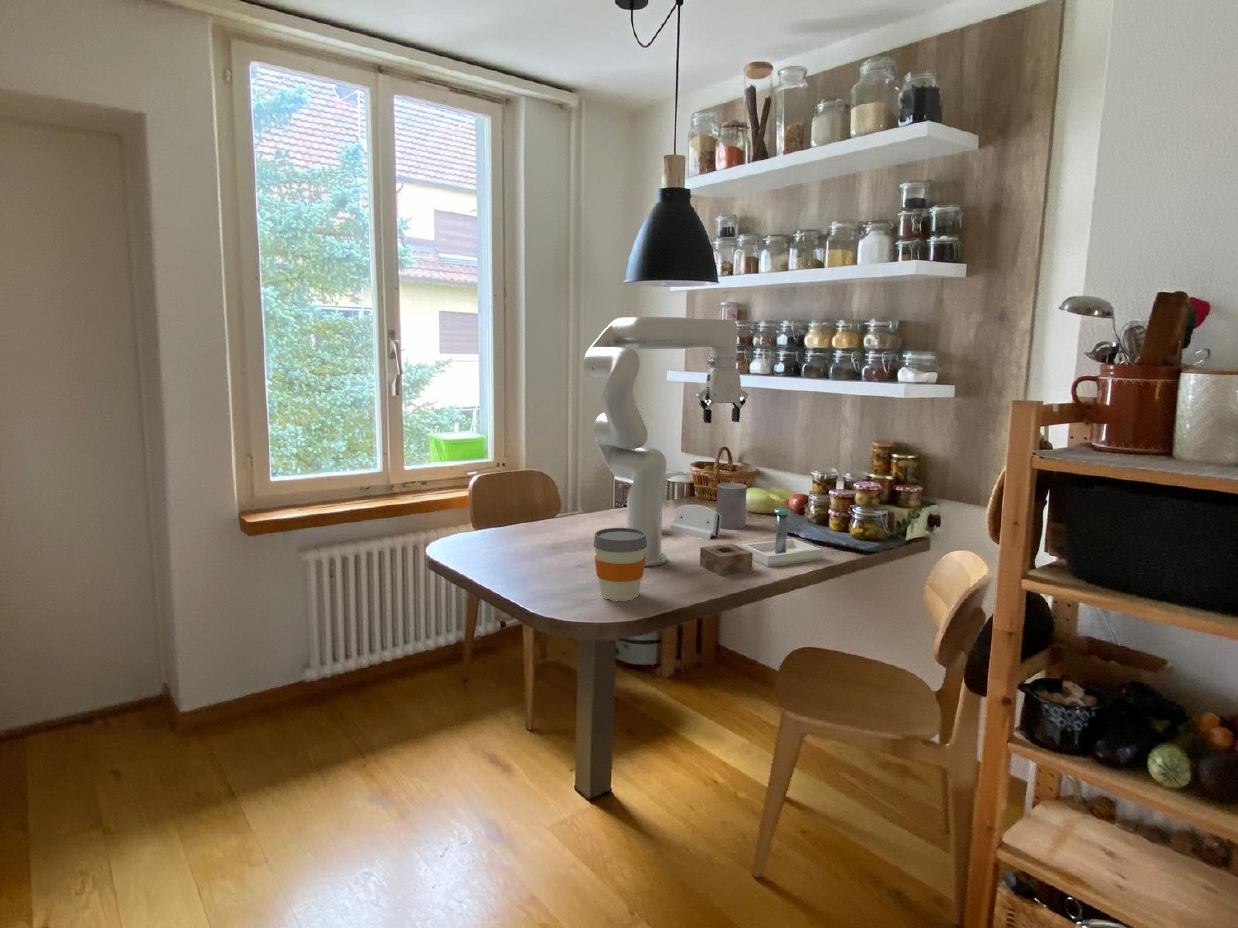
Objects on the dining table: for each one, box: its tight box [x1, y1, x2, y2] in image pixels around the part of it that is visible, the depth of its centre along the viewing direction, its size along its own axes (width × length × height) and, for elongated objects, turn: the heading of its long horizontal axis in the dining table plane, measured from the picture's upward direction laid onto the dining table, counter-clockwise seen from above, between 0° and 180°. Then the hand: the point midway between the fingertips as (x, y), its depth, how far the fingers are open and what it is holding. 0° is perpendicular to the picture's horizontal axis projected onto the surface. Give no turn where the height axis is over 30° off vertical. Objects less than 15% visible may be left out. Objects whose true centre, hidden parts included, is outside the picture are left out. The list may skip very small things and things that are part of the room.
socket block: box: [699, 543, 753, 576], centre depth 199 cm, size 10×10×5 cm
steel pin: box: [773, 507, 792, 554], centre depth 209 cm, size 5×5×13 cm
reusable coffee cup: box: [593, 527, 647, 602], centre depth 176 cm, size 13×13×15 cm
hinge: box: [668, 504, 721, 540], centre depth 237 cm, size 17×5×10 cm, turn 47°
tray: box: [740, 538, 823, 568], centre depth 210 cm, size 18×13×3 cm
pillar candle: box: [715, 482, 748, 530], centre depth 246 cm, size 10×10×15 cm
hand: (721, 422), depth 222 cm, fingers open, 9 cm apart
